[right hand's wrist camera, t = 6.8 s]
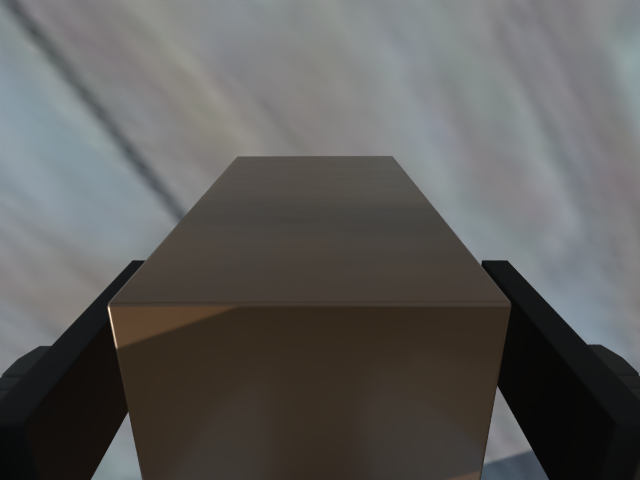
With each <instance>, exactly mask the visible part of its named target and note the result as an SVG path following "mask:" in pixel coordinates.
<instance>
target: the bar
mask: <svg viewBox="0 0 640 480" xmlns="http://www.w3.org/2000/svg"><path fill="white" fill-rule="evenodd" d="M510 309H511V303H510V301H509V300H508V298H507V297H506V296H505V295H504V293H503V292H502V291H501V290H500V288H499V287H498V286H497V285H496V283H495V282H494V281H493V280H492V279H491V277H490V276H489V275H488V274H487V272H486V271H485V270H484V269H483V267H482V266H481V265H480V264H479V262H478V261H477V260H476V259H475V258H474V256H473V255H472V254H471V253H470V251H469V250H468V249H467V248H466V246H465V245H464V244H463V243H462V241H461V240H460V239H459V238H458V237H457V235H456V234H455V233H454V232H453V230H452V229H451V228H450V227H449V225H448V224H447V223H446V222H445V220H444V219H443V218H442V217H441V216H440V214H439V213H438V212H437V211H436V209H435V208H434V207H433V206H432V204H431V203H430V202H429V201H428V199H427V198H426V197H425V196H424V195H423V193H422V192H421V191H420V190H419V188H418V187H417V186H416V185H415V183H414V182H413V181H412V180H411V178H410V177H409V176H408V175H407V174H406V172H405V171H404V170H403V169H402V167H401V166H400V165H399V164H398V162H397V161H396V160H395V159H394V157H392V156H289V157H237V158H236V159H235V160H234V161H233V162H232V163H231V165H230V166H229V167H228V168H227V169H226V170H225V171H224V172H223V174H222V175H221V176H220V177H219V178H218V179H217V180H216V182H215V183H214V184H213V185H212V186H211V187H210V188H209V189H208V191H207V192H206V193H205V194H204V195H203V196H202V197H201V199H200V200H199V201H198V202H197V203H196V204H195V205H194V206H193V208H192V209H191V210H190V211H189V212H188V213H187V214H186V216H185V217H184V218H183V219H182V220H181V221H180V222H179V224H178V225H177V226H176V227H175V228H174V229H173V230H172V231H171V233H170V234H169V235H168V236H167V237H166V238H165V239H164V241H163V242H162V243H161V244H160V245H159V246H158V247H157V248H156V250H155V251H154V252H153V253H152V254H151V255H150V256H149V258H148V259H147V260H146V261H145V262H144V263H143V264H142V265H141V267H140V268H139V269H138V270H137V271H136V272H135V273H134V275H133V276H132V277H131V278H130V279H129V280H128V281H127V282H126V284H125V285H124V286H123V287H122V288H121V289H120V290H119V292H118V293H117V294H116V295H115V296H114V297H113V298H112V299H111V301H110V302H109V303H108V312H109V317H110V322H111V327H112V332H113V337H114V342H115V347H116V352H117V357H118V362H119V367H120V372H121V377H122V382H123V387H124V392H125V397H126V402H127V407H128V412H129V417H130V422H131V426H132V431H133V436H134V441H135V446H136V451H137V456H138V461H139V466H140V471H141V476H142V480H480V479H481V473H482V468H483V462H484V456H485V451H486V445H487V440H488V434H489V428H490V423H491V417H492V411H493V406H494V400H495V394H496V389H497V383H498V377H499V372H500V366H501V360H502V355H503V349H504V343H505V338H506V332H507V326H508V321H509V315H510Z"/></svg>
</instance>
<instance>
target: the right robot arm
mask: <svg viewBox="0 0 640 480" xmlns="http://www.w3.org/2000/svg"><path fill="white" fill-rule="evenodd" d="M145 261H146V260H133V261H132V262H131V263H130V264H129V265H128V266H127V267H126V268H125V269H124V270H123V271H122V272H121V273H120V274H119V275H118V277H117V278H116V279H115V280H114V281H113V282H112V283H111V284H110V285H109V286H108V287H107V288H106V289H105V290H104V291H103V292H102V293H101V294H100V296H99V297H98V298H97V299H96V300H95V301H94V302H93V303H92V304H91V305H90V306H89V307H88V308H87V309H86V310H85V311H84V312H83V313H82V314H81V316H80V317H79V318H78V319H77V320H76V321H75V322H74V323H73V324H72V325H71V326H70V327H69V328H68V329H67V330H66V331H65V332H64V333H63V334H62V336H61V337H60V338H59V339H58V340H57V341H56V342H55V343H54V344H53V345H52V346H39V347H37V348H36V349H34V350H32V351H31V352H29V353H27V354H26V355H24V356H22V357H21V358H19V359H18V360H17V361H15V362H14V363H13V364H12V365H11V366H10V367H9V368H8V369H7V370H6V371H5V372H4V373H3V374H2V377H1V378H0V480H91V478H92V477H93V475H94V473H95V471H96V469H97V467H98V466H99V464H100V462H101V460H102V458H103V457H104V455H105V453H106V451H107V449H108V448H109V446H110V444H111V442H112V440H113V438H114V437H115V435H116V433H117V431H118V429H119V428H120V426H121V424H122V422H123V420H124V418H125V417H126V415H127V413H128V407H127V402H126V397H125V392H124V387H123V382H122V377H121V372H120V367H119V362H118V357H117V352H116V347H115V342H114V337H113V332H112V327H111V322H110V317H109V312H108V303H109V302H110V301H111V299H112V298H113V297H114V296H115V295H116V294H117V293H118V292H119V290H120V289H121V288H122V287H123V286H124V285H125V284H126V282H127V281H128V280H129V279H130V278H131V277H132V276H133V275H134V273H135V272H136V271H137V270H138V269H139V268H140V267H141V265H142V264H143V263H144V262H145ZM481 266H482V267H483V269H484V270H485V271H486V272H487V274H488V275H489V276H490V277H491V279H492V280H493V281H494V282H495V283H496V285H497V286H498V287H499V288H500V290H501V291H502V292H503V293H504V295H505V296H506V297H507V298H508V300H509V301H510V303H511V309H510V315H509V321H508V326H507V332H506V338H505V343H504V349H503V355H502V360H501V366H500V372H499V377H498V383H497V386H498V388H499V389H500V391H501V393H502V395H503V397H504V398H505V400H506V402H507V404H508V406H509V408H510V409H511V411H512V413H513V415H514V417H515V418H516V420H517V422H518V424H519V426H520V428H521V429H522V431H523V433H524V435H525V437H526V438H527V440H528V442H529V444H530V446H531V447H532V449H533V451H534V453H535V455H536V457H537V458H538V460H539V462H540V464H541V466H542V467H543V469H544V471H545V473H546V475H547V477H548V478H549V480H640V376H639V375H638V374H639V373H638V372H637V371H636V370H635V369H634V368H633V367H632V366H631V365H630V364H629V363H628V362H627V361H625V360H624V359H623V358H622V357H621V356H619V355H617V354H615V353H614V352H612V351H610V350H609V349H607V348H605V347H604V346H602V345H587V344H586V343H585V342H584V341H583V340H582V339H581V338H580V337H579V336H578V334H577V333H576V332H575V331H574V330H573V329H572V328H571V327H570V326H569V325H568V324H567V323H566V322H565V321H564V320H563V319H562V318H561V317H560V315H559V314H558V313H557V312H556V311H555V310H554V309H553V308H552V307H551V306H550V305H549V304H548V303H547V302H546V301H545V300H544V299H543V298H542V297H541V295H540V294H539V293H538V292H537V291H536V290H535V289H534V288H533V287H532V286H531V285H530V284H529V283H528V282H527V281H526V280H525V279H524V278H523V277H522V275H521V274H520V273H519V272H518V271H517V270H516V269H515V268H514V267H513V266H512V265H511V264H510V263H509V262H508V261H507V260H482V265H481Z"/></svg>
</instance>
